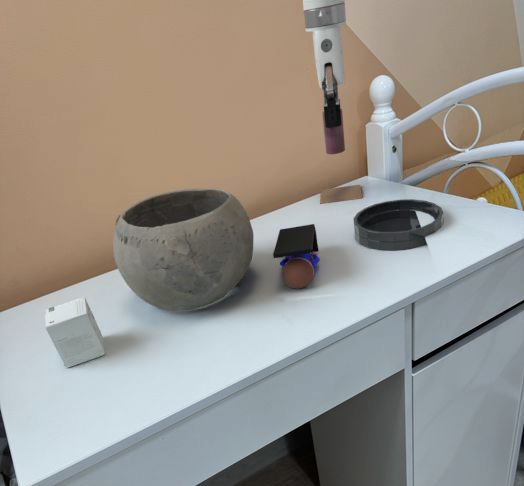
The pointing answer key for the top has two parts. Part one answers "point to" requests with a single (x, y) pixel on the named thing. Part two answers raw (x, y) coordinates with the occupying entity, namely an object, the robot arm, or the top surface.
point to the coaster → (340, 194)
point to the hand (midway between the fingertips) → (333, 123)
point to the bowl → (183, 247)
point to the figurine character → (297, 254)
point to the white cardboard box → (74, 332)
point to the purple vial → (334, 137)
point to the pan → (396, 224)
